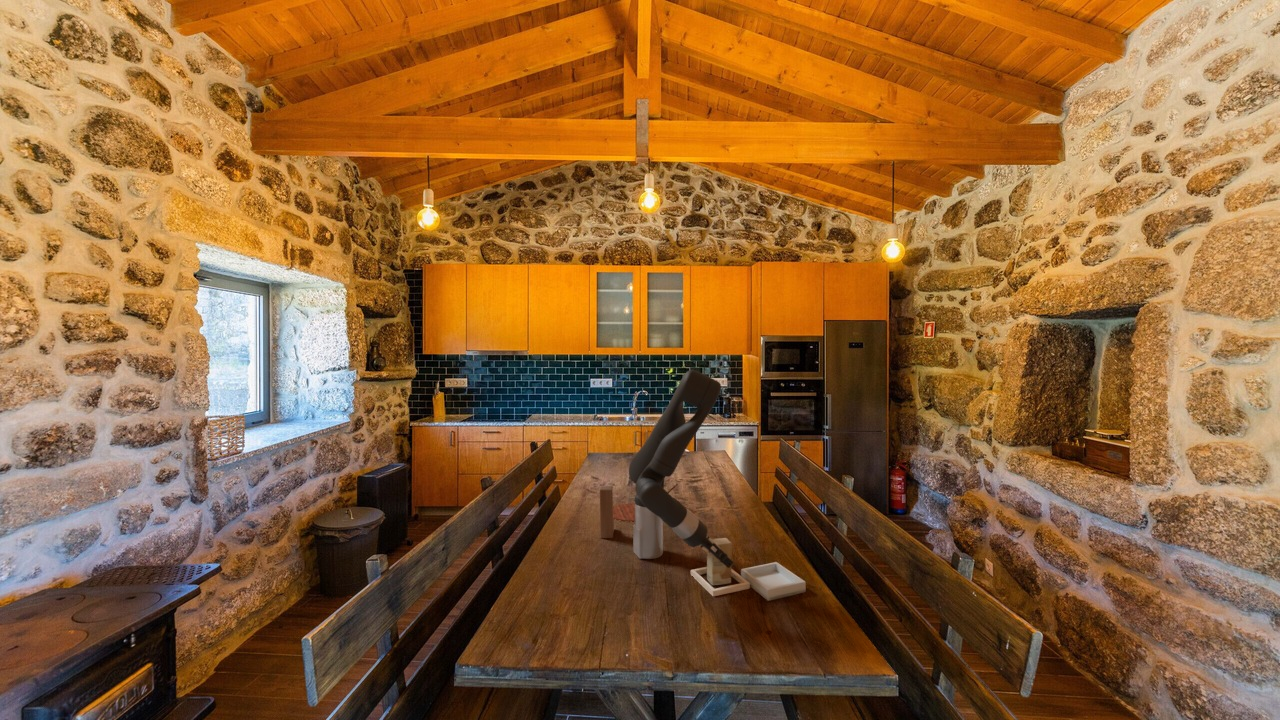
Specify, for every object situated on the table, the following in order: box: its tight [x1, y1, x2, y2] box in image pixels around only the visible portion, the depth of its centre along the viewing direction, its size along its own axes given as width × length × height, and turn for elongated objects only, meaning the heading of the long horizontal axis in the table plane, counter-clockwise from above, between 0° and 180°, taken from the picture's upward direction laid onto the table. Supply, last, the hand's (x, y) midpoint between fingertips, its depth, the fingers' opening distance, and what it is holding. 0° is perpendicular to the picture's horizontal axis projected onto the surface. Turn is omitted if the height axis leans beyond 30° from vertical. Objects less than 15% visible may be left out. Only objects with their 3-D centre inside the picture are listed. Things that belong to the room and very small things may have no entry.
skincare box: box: [706, 537, 733, 586], centre depth 148 cm, size 6×4×12 cm
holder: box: [690, 566, 751, 597], centre depth 149 cm, size 12×14×2 cm
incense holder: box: [613, 483, 678, 523], centre depth 209 cm, size 21×30×11 cm
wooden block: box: [599, 485, 615, 539], centre depth 186 cm, size 9×4×18 cm, turn 1°
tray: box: [740, 561, 807, 602], centre depth 146 cm, size 13×14×3 cm
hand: (723, 559), depth 149 cm, fingers open, 8 cm apart
